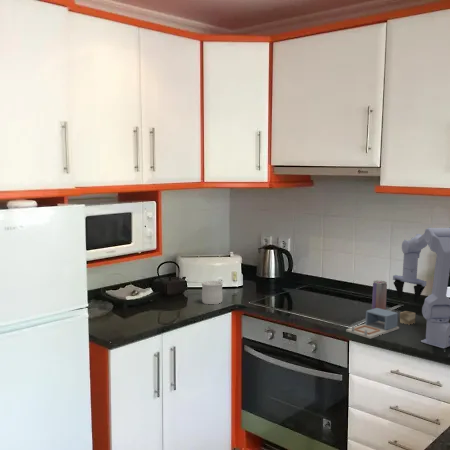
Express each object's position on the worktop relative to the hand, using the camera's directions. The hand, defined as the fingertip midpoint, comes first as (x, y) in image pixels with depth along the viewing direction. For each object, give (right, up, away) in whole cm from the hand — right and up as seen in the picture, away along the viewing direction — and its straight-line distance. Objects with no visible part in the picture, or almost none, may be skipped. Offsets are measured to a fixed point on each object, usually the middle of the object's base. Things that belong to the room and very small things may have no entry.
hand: (408, 299), depth 232 cm
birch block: (0, -10, +1) cm, 10 cm away
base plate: (-17, -11, -10) cm, 23 cm away
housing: (-13, -10, -6) cm, 18 cm away
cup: (-84, -6, +30) cm, 90 cm away
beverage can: (-9, -9, +13) cm, 18 cm away
